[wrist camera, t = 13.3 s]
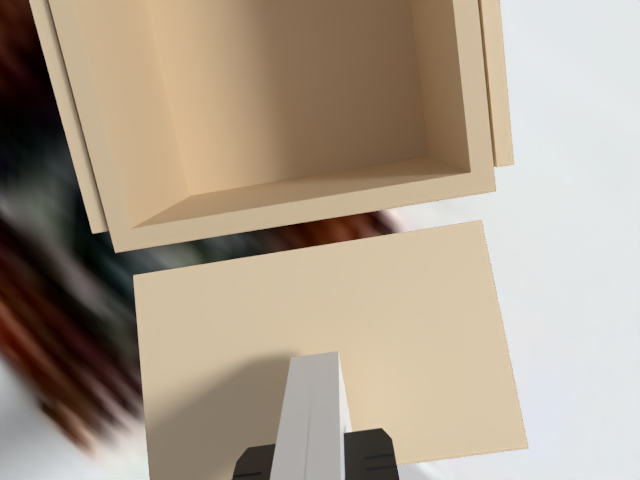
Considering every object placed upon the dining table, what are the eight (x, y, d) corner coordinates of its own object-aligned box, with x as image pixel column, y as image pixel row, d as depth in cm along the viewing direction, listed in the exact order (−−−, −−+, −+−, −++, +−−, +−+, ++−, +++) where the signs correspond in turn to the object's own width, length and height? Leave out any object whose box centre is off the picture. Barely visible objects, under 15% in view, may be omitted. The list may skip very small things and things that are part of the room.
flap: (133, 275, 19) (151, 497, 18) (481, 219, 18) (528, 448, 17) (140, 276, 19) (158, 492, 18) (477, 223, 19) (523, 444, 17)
